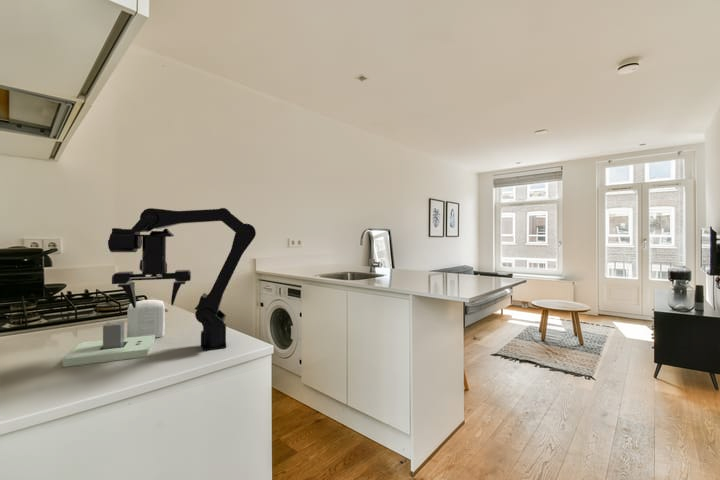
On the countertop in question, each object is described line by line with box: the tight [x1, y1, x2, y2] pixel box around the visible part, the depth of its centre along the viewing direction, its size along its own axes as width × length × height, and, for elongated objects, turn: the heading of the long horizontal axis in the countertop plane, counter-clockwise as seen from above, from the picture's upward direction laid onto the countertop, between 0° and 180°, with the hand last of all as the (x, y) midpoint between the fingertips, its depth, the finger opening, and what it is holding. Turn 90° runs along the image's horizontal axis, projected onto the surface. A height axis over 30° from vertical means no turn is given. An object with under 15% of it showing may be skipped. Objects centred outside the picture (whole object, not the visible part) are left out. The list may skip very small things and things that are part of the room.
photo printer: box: [126, 299, 166, 338], centre depth 105 cm, size 10×4×12 cm, turn 123°
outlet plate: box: [62, 335, 156, 368], centre depth 93 cm, size 18×16×2 cm
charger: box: [102, 320, 125, 350], centre depth 92 cm, size 4×4×8 cm
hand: (153, 306), depth 93 cm, fingers open, 9 cm apart
